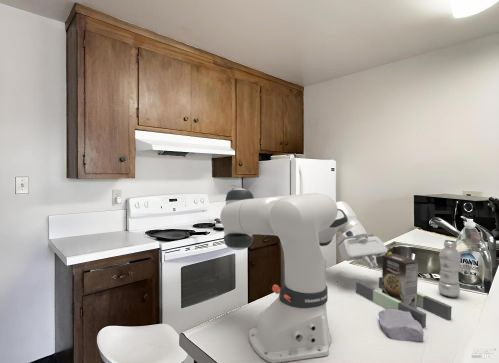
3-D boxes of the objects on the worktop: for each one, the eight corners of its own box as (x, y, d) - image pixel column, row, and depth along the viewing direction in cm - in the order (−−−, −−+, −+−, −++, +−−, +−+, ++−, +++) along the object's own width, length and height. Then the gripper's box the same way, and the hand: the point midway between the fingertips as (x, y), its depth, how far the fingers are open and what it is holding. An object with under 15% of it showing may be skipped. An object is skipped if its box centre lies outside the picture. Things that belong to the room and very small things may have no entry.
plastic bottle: (464, 297, 101) (466, 242, 100) (451, 300, 99) (453, 244, 98) (446, 290, 107) (447, 238, 106) (433, 293, 105) (435, 240, 104)
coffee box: (380, 300, 99) (381, 254, 98) (394, 297, 101) (395, 252, 101) (403, 312, 91) (405, 262, 90) (417, 308, 93) (419, 260, 92)
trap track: (422, 328, 81) (422, 314, 81) (355, 292, 105) (356, 281, 105) (451, 319, 86) (451, 306, 86) (381, 286, 110) (381, 276, 110)
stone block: (388, 347, 76) (428, 343, 74) (385, 329, 76) (424, 325, 75) (375, 324, 88) (409, 321, 86) (372, 309, 88) (406, 305, 86)
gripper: (370, 238, 121) (389, 268, 112) (332, 242, 113) (348, 275, 104) (379, 229, 116) (399, 260, 108) (339, 233, 108) (358, 267, 100)
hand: (374, 267), depth 106 cm, fingers closed
